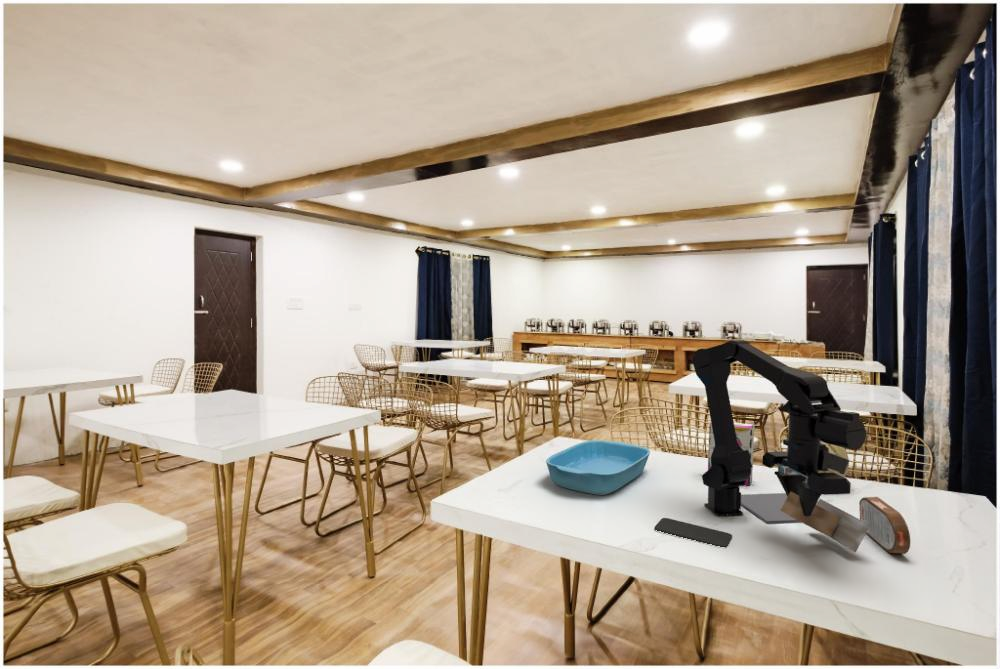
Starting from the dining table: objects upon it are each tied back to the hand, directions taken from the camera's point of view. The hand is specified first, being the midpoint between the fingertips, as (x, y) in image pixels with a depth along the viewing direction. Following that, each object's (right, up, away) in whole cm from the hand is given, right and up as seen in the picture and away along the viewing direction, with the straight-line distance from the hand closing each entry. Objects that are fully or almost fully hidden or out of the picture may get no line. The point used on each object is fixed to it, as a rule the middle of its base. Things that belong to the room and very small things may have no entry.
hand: (801, 512), depth 104 cm
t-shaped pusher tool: (+1, -2, 0) cm, 3 cm away
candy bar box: (+3, -5, +40) cm, 40 cm away
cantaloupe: (+26, -5, +37) cm, 45 cm away
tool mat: (+8, -6, +20) cm, 23 cm away
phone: (-20, -7, +7) cm, 22 cm away
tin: (+18, -7, +2) cm, 19 cm away
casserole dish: (-33, -5, +42) cm, 54 cm away
